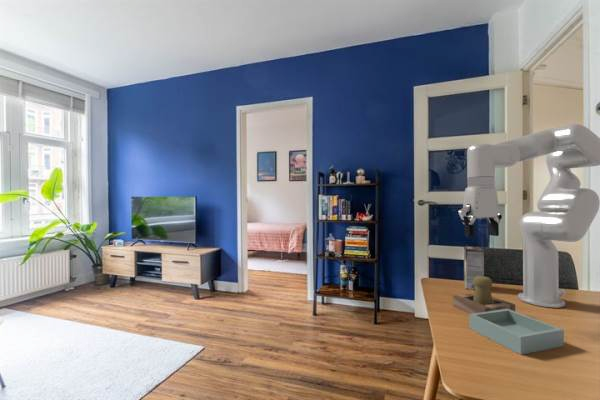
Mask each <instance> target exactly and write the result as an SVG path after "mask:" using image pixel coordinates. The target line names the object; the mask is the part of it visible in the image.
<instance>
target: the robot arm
mask: <svg viewBox="0 0 600 400" xmlns="http://www.w3.org/2000/svg"><path fill="white" fill-rule="evenodd" d="M542 156H546V157H545V158H546V159H545V163H546V165H547V166H546V167H547V169H548V173H549V178H550V179H549V182H548V184H547V185H546V187H545V188H544V189H543V191H542V193H541V195H540V197H539V198H538V200H537V204H536V205H537V210H538V211H529V212H527V213H526V212H525V214H523V215H521V217H520V219H519V222H518V223H519V224H518V225H519V226H518V227H519V230H520V234H521V237H522V238H521V240H522V252H523V253H522V263H523V264H522V272H523V273H522V281H523V282H522V285H523V286H522V290H523V291H522V292H519V293H518V294H517V298H518V299H519V300H520V301H522V302H524V303H527V304H530V305H534V306H539V307H545V308H553V309H554V308H555V309H556V308H557V309H558V308H563V307H565V306H566V302H565V300H563V299H561V298H560V296H566V294H567V291H566V290H565V289H563V288H562V289H561V288H560V289H559V286H560V285H559V284H560V283H559V280H560V279H559V257H560V256H559V251H558V249H557V247H556V245H555V244H554V243H553V241H558V242H564V243H565V242H568V243H576V242H579V241H580V240H582V239H583V238H584V236H585V235H586V234H587V232H588V230H589V228H590V227H591V225H592V223H593V222H594V220H595V218H596V217H597V216H596V215H597V214H598V212H599V209H600V197H599V195H598V193H597V192H596V191H595V190H593V189H591V188H586V187H585V188H584V187H581V185H582V184H581V180H580V179H579V177H578V176H577V175H576V174H575V173H573V172H572V170H571V169H577V168H588V167H590V168H591V167H598V166H600V136H598V135H597V134H596V133H594V132H593V131H592V130H591V129H590V128H588V127H586V126H585V125H582V124H580V123H571V124H566V125H562V126H557V127H553V128H548V129H544V130H541V131H537V132H534V133H530V134H527V135H526V134H525V135H523V136H519V137H516V138H512V139H509V140H506V141H503V142H499V143H495V144H490V143H481V144H475V145H471V146H469V147H468V148H467V150H466V167H467V168H466V169H467V170H466V172H467V174H466V176H467V178H466V179H467V187H466V188H465V189H464V194H463V195H464V196H463V203H462V205H463V206H462V208H460V209H459V210H458V215H459V217H460V220H461V222H462V224H463V225H464V236H465V237H466V238H475V237H476V231H475V230H476V229H475V228H476V227H475V224H474V223H475V221H476V220H478V219H487V220H488V221H489V222H488V225H487V227H488V234H487V235H489V236H494V237H498V236H499V235H500V229H499V227H500V226H499V225H500V223H501V220H502V218H503V215H504V209H503V208H502V207H500V206H499V197H498V192H497V186H496V169H502V168H503V169H505V168H509V167H512V166H515V165H516V164H518V163H519V162H525V161H531V160H534V159H537V158H540V157H542Z"/></svg>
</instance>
